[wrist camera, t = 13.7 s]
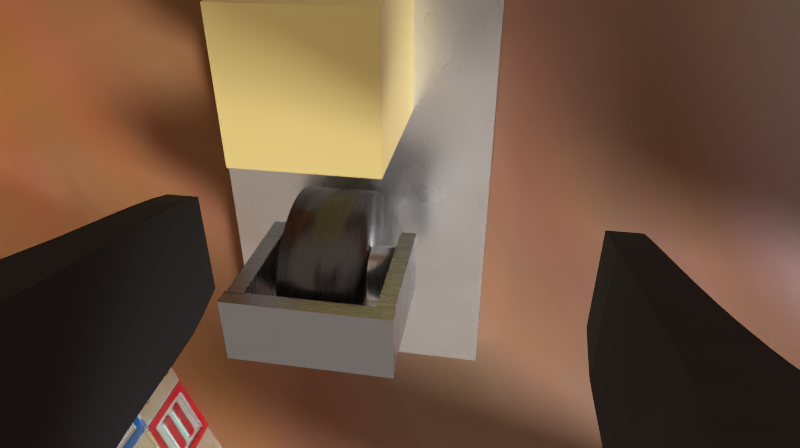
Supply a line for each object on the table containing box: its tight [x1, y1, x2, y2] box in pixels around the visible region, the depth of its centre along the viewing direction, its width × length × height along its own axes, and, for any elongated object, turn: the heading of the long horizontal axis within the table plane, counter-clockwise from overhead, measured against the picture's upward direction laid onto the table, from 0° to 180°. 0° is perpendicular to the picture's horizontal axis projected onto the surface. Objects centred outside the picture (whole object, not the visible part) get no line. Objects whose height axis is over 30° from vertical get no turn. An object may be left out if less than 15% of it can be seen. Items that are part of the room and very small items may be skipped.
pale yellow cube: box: [200, 0, 414, 179], centre depth 16 cm, size 4×4×5 cm
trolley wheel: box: [217, 0, 504, 378], centre depth 19 cm, size 9×15×7 cm, turn 0°
